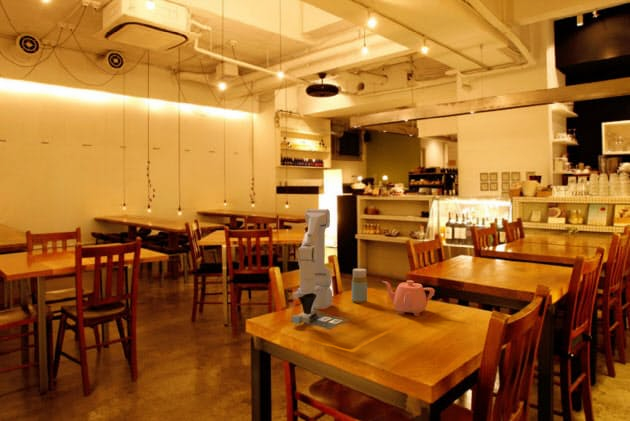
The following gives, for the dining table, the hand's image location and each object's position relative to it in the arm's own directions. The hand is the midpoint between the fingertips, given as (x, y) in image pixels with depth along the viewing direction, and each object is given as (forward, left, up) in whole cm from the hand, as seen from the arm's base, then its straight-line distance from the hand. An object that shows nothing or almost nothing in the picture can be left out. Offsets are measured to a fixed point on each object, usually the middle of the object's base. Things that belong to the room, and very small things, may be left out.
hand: (307, 313), depth 164 cm
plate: (-9, +1, -5) cm, 10 cm away
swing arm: (-4, -4, -4) cm, 6 cm away
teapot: (-41, +21, -6) cm, 47 cm away
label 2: (-10, +6, -5) cm, 13 cm away
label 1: (-10, +1, -5) cm, 11 cm away
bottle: (-43, -4, -6) cm, 44 cm away
